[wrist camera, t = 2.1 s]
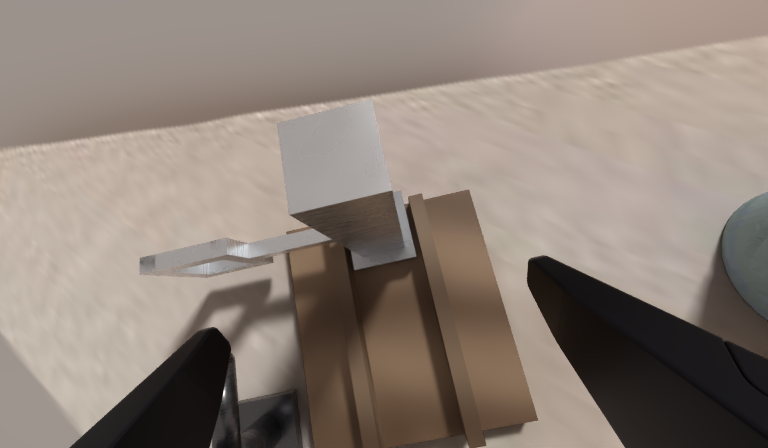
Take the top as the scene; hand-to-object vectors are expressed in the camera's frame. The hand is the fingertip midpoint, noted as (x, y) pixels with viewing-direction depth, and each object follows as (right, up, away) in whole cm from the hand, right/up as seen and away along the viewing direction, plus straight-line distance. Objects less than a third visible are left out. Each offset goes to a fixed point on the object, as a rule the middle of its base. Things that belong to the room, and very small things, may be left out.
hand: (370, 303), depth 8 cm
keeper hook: (-7, -8, +9) cm, 14 cm away
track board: (+1, -3, +10) cm, 10 cm away
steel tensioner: (-4, +1, +10) cm, 11 cm away
